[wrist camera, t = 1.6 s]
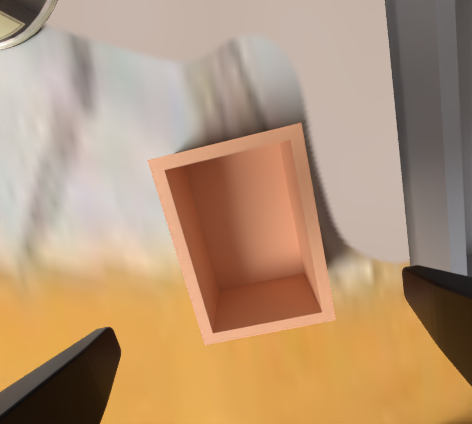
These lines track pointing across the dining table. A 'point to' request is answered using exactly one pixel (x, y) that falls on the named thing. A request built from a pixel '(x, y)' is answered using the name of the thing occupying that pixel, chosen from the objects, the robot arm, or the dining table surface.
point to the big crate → (434, 127)
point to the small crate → (247, 234)
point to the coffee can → (22, 19)
